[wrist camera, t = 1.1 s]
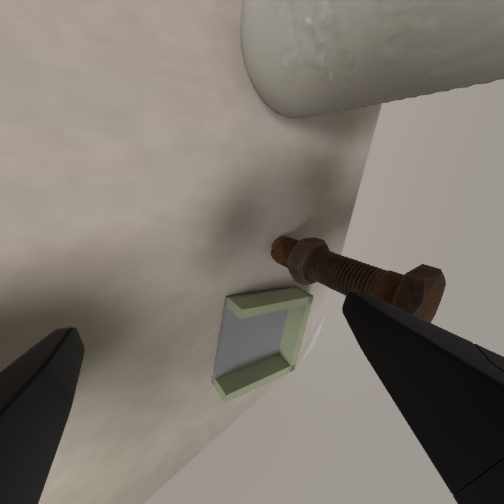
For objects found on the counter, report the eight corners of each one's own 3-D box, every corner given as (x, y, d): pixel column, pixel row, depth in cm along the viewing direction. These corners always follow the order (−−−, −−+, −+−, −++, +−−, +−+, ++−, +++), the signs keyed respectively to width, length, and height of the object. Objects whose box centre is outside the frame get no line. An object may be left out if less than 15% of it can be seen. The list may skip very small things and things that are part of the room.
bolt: (276, 217, 25) (443, 260, 14) (301, 233, 29) (452, 279, 17) (254, 265, 25) (401, 347, 14) (281, 276, 29) (418, 349, 17)
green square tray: (211, 382, 27) (224, 403, 24) (226, 296, 24) (242, 309, 22) (279, 355, 33) (294, 369, 31) (295, 286, 31) (313, 295, 29)
